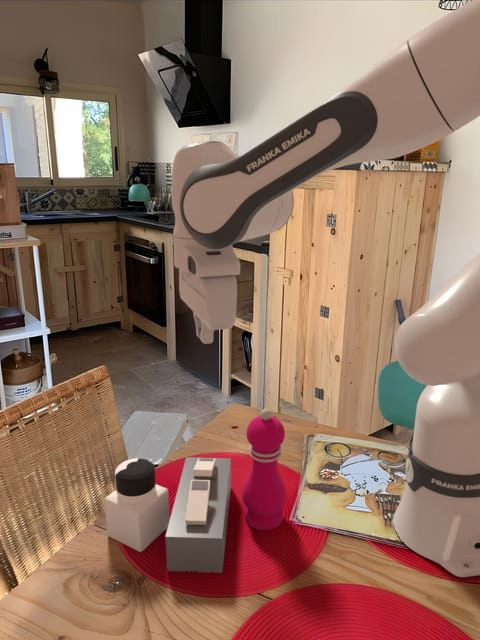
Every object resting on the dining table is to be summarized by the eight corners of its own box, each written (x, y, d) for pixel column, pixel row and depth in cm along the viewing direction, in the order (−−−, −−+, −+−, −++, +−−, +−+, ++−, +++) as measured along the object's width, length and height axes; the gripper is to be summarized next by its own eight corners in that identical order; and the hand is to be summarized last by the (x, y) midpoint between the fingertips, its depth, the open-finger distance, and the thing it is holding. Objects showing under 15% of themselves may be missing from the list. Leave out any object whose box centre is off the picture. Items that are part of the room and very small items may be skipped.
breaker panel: (230, 487, 91) (230, 454, 89) (222, 572, 72) (222, 533, 69) (187, 485, 91) (186, 453, 89) (167, 571, 72) (165, 531, 70)
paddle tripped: (215, 464, 87) (215, 457, 87) (211, 476, 80) (211, 469, 80) (198, 463, 87) (198, 457, 87) (193, 475, 80) (193, 468, 80)
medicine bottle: (170, 525, 81) (167, 461, 77) (141, 553, 75) (136, 485, 71) (137, 510, 84) (133, 448, 81) (106, 536, 79) (100, 470, 75)
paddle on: (210, 484, 78) (210, 479, 77) (206, 525, 72) (205, 520, 71) (191, 483, 78) (190, 479, 77) (185, 524, 72) (184, 519, 71)
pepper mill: (283, 536, 79) (286, 423, 73) (238, 529, 80) (238, 418, 74) (288, 506, 85) (291, 401, 80) (246, 501, 87) (247, 397, 81)
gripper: (168, 245, 84) (171, 323, 89) (200, 267, 66) (202, 364, 70) (204, 244, 87) (206, 320, 91) (244, 265, 68) (244, 359, 72)
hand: (204, 339), depth 80 cm, fingers closed
